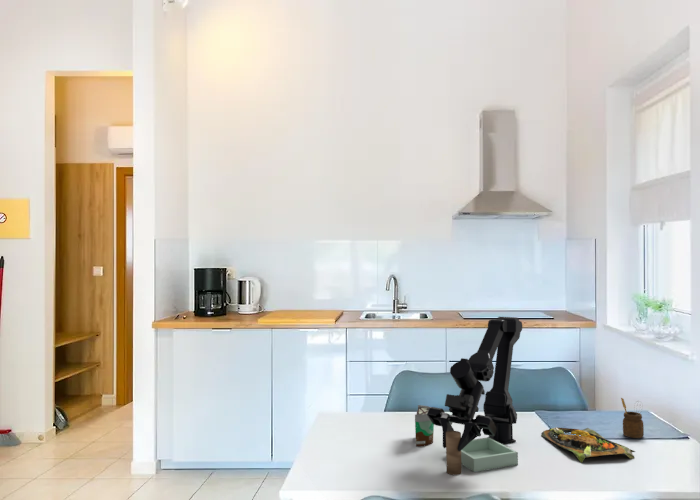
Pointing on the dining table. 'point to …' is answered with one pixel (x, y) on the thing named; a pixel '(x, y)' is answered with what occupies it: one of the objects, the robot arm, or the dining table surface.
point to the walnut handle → (453, 453)
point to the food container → (423, 427)
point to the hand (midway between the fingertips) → (451, 449)
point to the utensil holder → (632, 423)
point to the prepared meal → (585, 443)
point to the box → (487, 455)
